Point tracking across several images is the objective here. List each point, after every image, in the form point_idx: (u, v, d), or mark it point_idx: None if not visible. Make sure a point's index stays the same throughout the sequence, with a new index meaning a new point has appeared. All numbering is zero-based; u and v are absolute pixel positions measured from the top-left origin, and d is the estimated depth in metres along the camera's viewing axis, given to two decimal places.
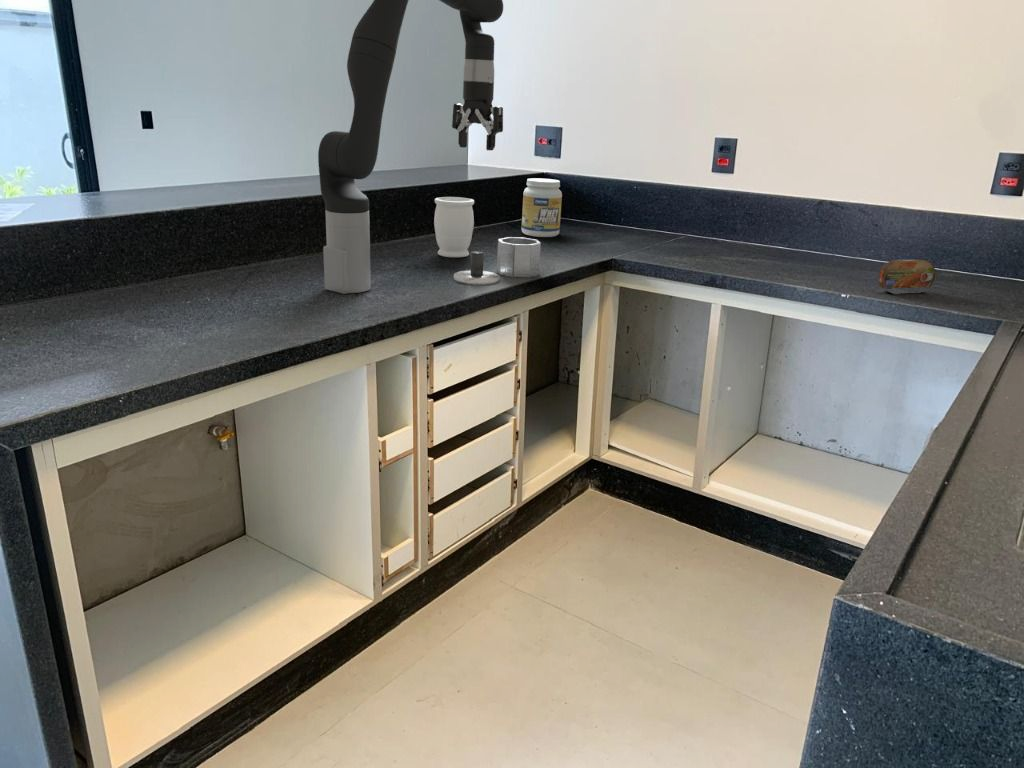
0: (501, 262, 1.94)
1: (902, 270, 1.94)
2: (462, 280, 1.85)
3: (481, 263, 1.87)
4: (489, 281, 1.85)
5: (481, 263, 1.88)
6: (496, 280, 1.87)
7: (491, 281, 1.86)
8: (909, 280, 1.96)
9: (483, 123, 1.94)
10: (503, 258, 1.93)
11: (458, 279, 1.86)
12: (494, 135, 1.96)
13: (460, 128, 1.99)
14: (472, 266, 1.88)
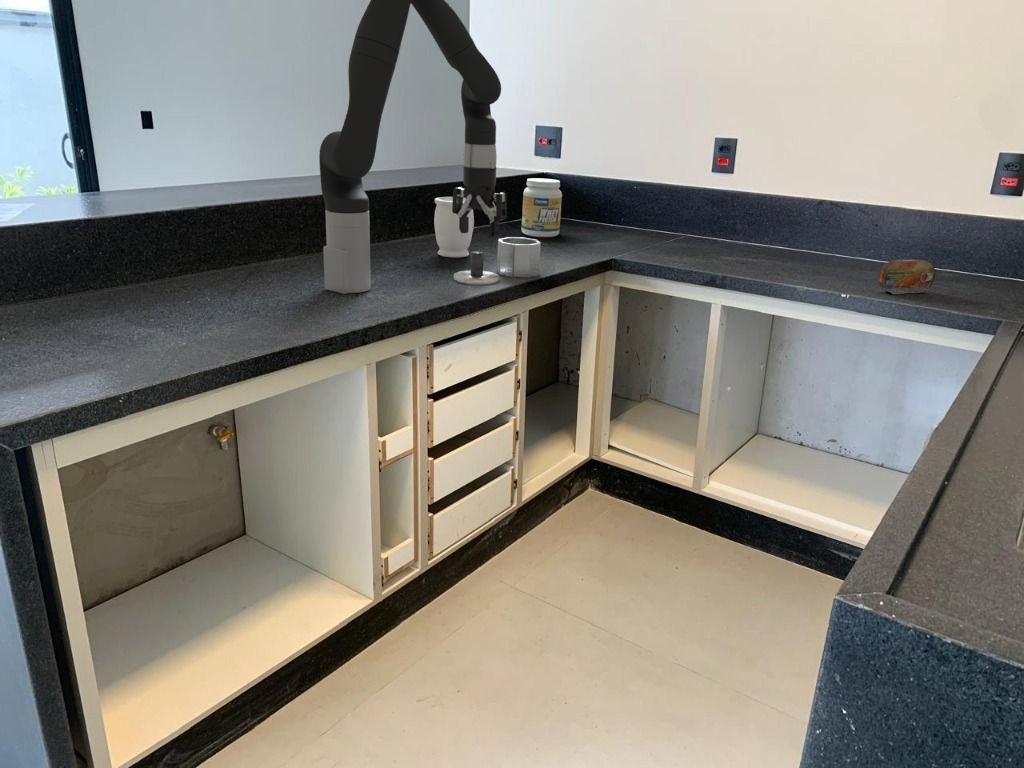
0: (501, 262, 1.94)
1: (902, 270, 1.94)
2: (462, 280, 1.85)
3: (481, 263, 1.87)
4: (489, 281, 1.85)
5: (481, 263, 1.88)
6: (496, 280, 1.87)
7: (491, 281, 1.86)
8: (909, 280, 1.96)
9: (485, 210, 1.81)
10: (503, 258, 1.93)
11: (458, 279, 1.86)
12: (497, 222, 1.82)
13: (461, 214, 1.86)
14: (472, 266, 1.88)
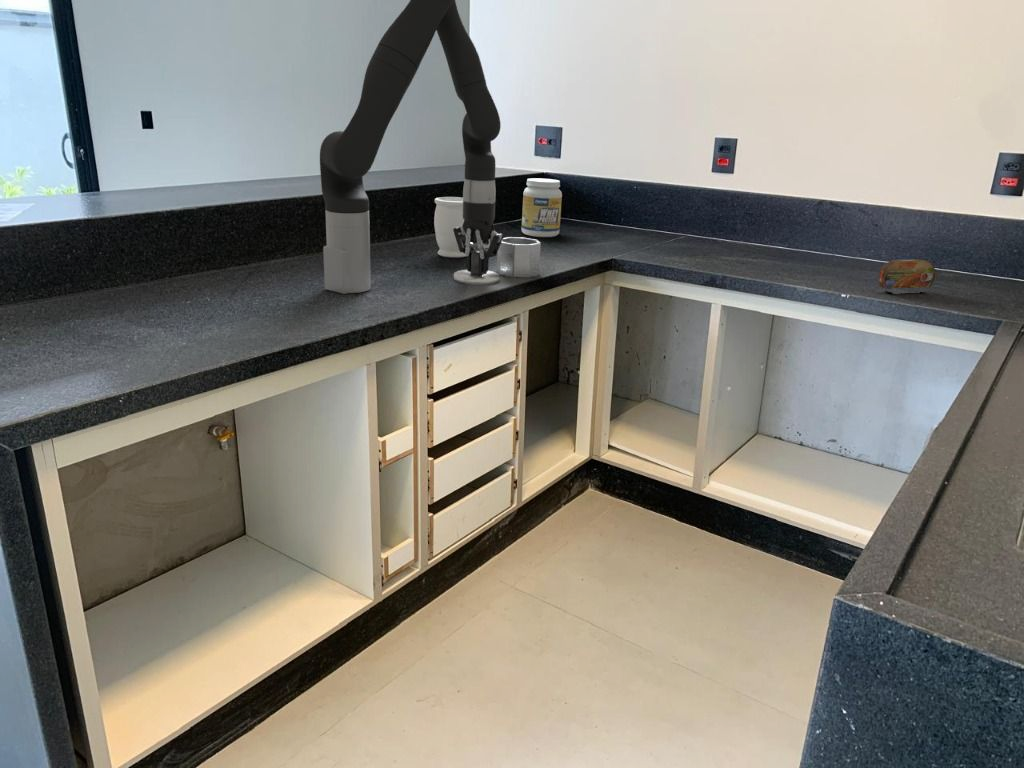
0: (501, 262, 1.94)
1: (902, 270, 1.94)
2: (462, 279, 1.85)
3: None
4: (489, 280, 1.85)
5: None
6: (496, 279, 1.87)
7: (491, 280, 1.86)
8: (909, 280, 1.96)
9: (479, 246, 1.85)
10: (503, 258, 1.93)
11: (458, 279, 1.86)
12: (487, 259, 1.87)
13: (467, 252, 1.88)
14: (472, 265, 1.88)
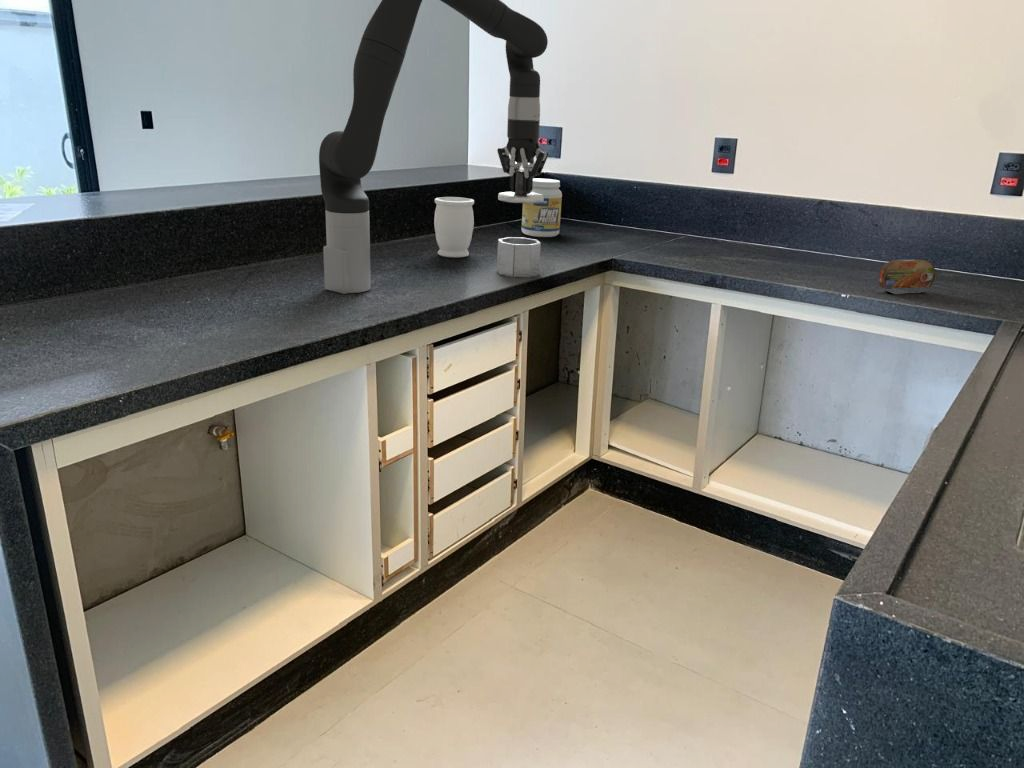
0: (501, 262, 1.94)
1: (902, 270, 1.94)
2: (507, 198, 1.87)
3: None
4: (534, 198, 1.87)
5: None
6: (541, 198, 1.89)
7: (536, 199, 1.88)
8: (909, 280, 1.96)
9: (523, 164, 1.86)
10: (503, 258, 1.93)
11: (503, 198, 1.88)
12: (531, 178, 1.88)
13: (512, 172, 1.89)
14: (517, 185, 1.89)
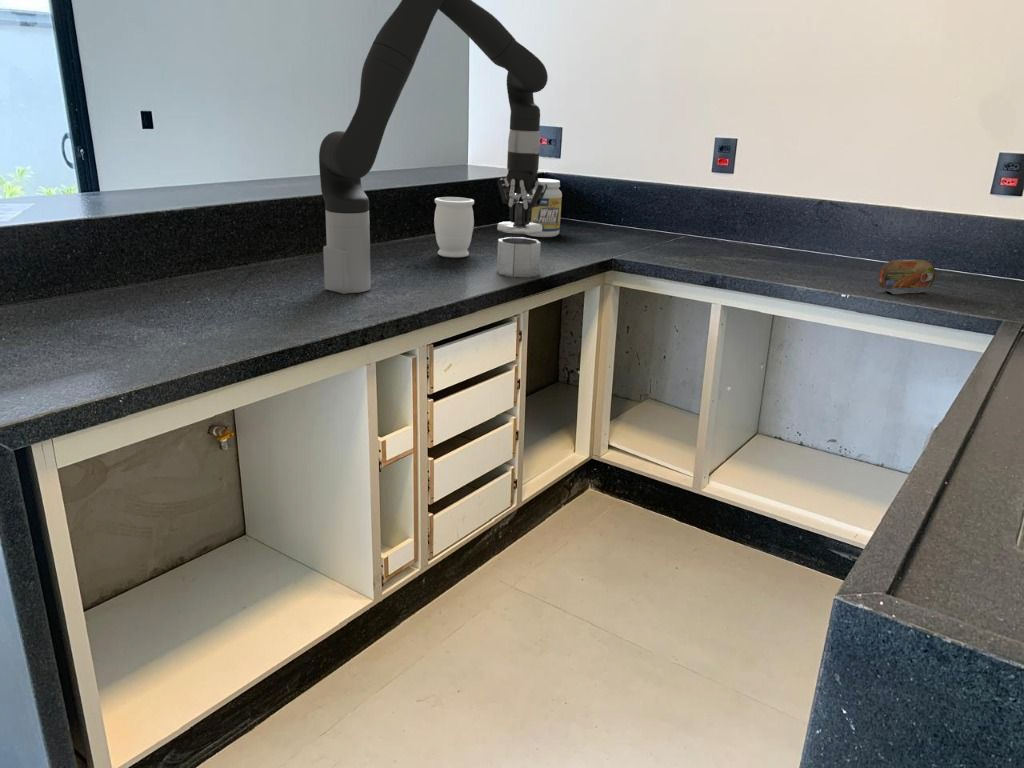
0: (501, 262, 1.94)
1: (902, 270, 1.94)
2: (507, 228, 1.90)
3: None
4: (533, 229, 1.90)
5: None
6: (539, 229, 1.92)
7: (535, 230, 1.90)
8: (909, 280, 1.96)
9: (523, 196, 1.89)
10: (503, 258, 1.93)
11: (502, 228, 1.91)
12: (530, 209, 1.91)
13: (511, 203, 1.92)
14: (516, 215, 1.92)
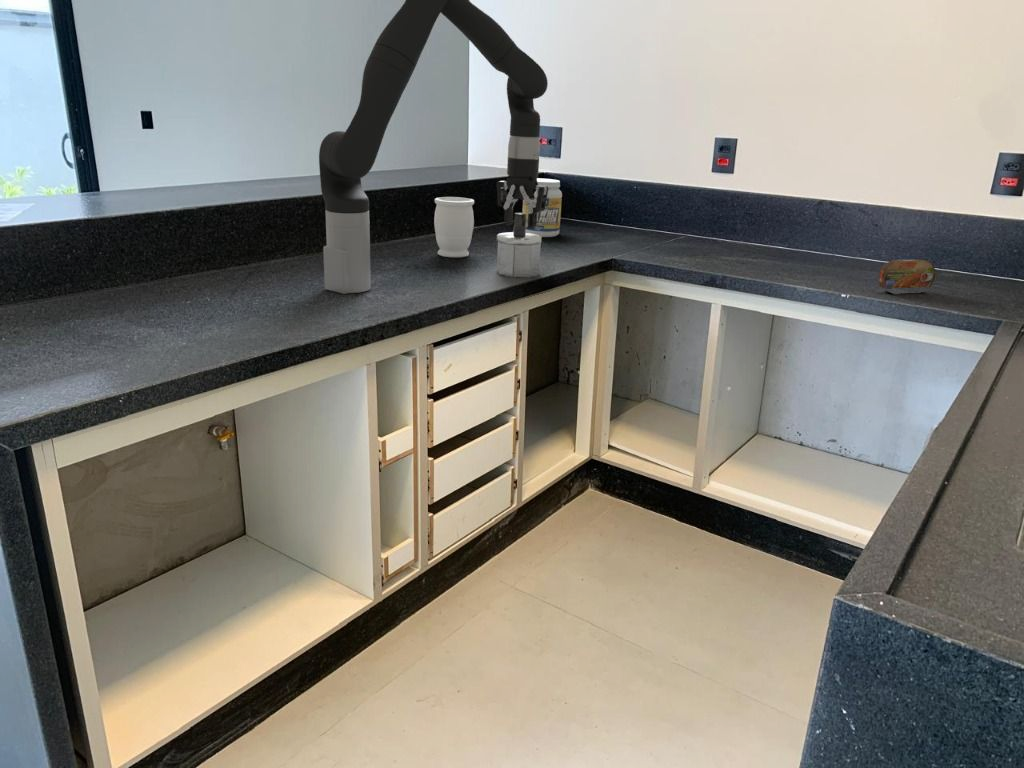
0: (501, 262, 1.94)
1: (902, 270, 1.94)
2: (506, 240, 1.91)
3: (524, 224, 1.93)
4: (532, 241, 1.91)
5: (524, 224, 1.93)
6: (539, 240, 1.93)
7: (534, 241, 1.91)
8: (909, 280, 1.96)
9: (526, 201, 1.89)
10: (503, 258, 1.93)
11: (501, 239, 1.92)
12: (536, 214, 1.91)
13: (506, 206, 1.93)
14: (515, 227, 1.93)
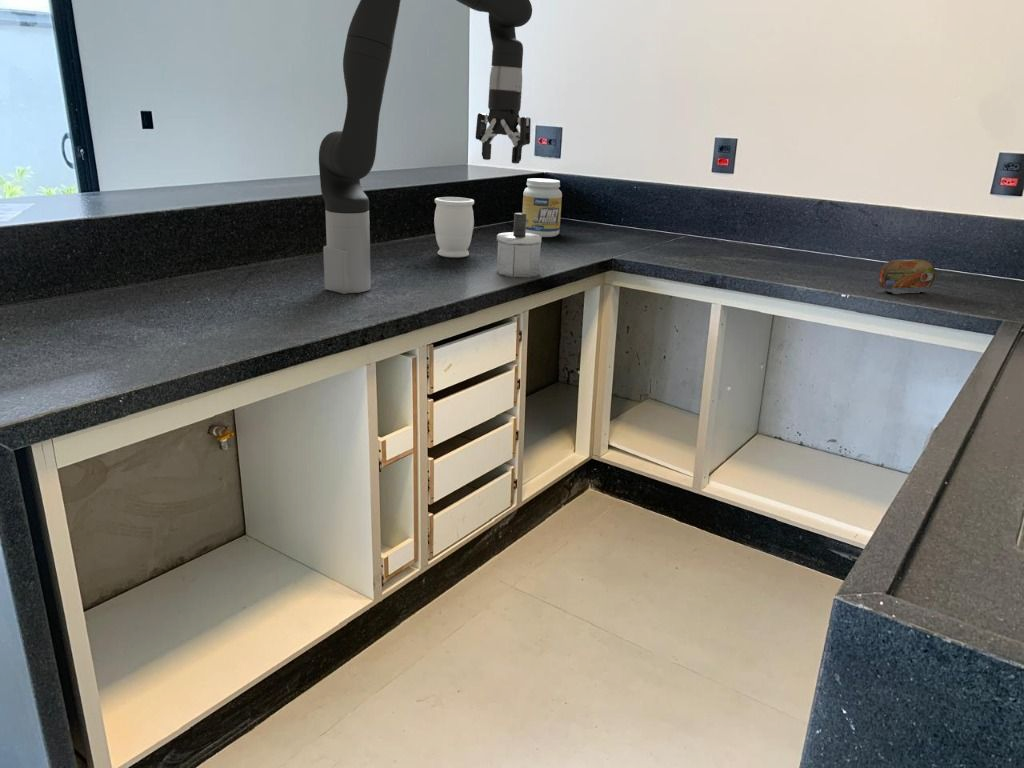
0: (501, 262, 1.94)
1: (902, 270, 1.94)
2: (506, 240, 1.91)
3: (524, 224, 1.93)
4: (532, 241, 1.91)
5: (524, 224, 1.93)
6: (539, 240, 1.93)
7: (534, 241, 1.91)
8: (909, 280, 1.96)
9: (509, 134, 1.82)
10: (503, 258, 1.93)
11: (501, 239, 1.92)
12: (520, 147, 1.83)
13: (484, 139, 1.87)
14: (515, 227, 1.93)
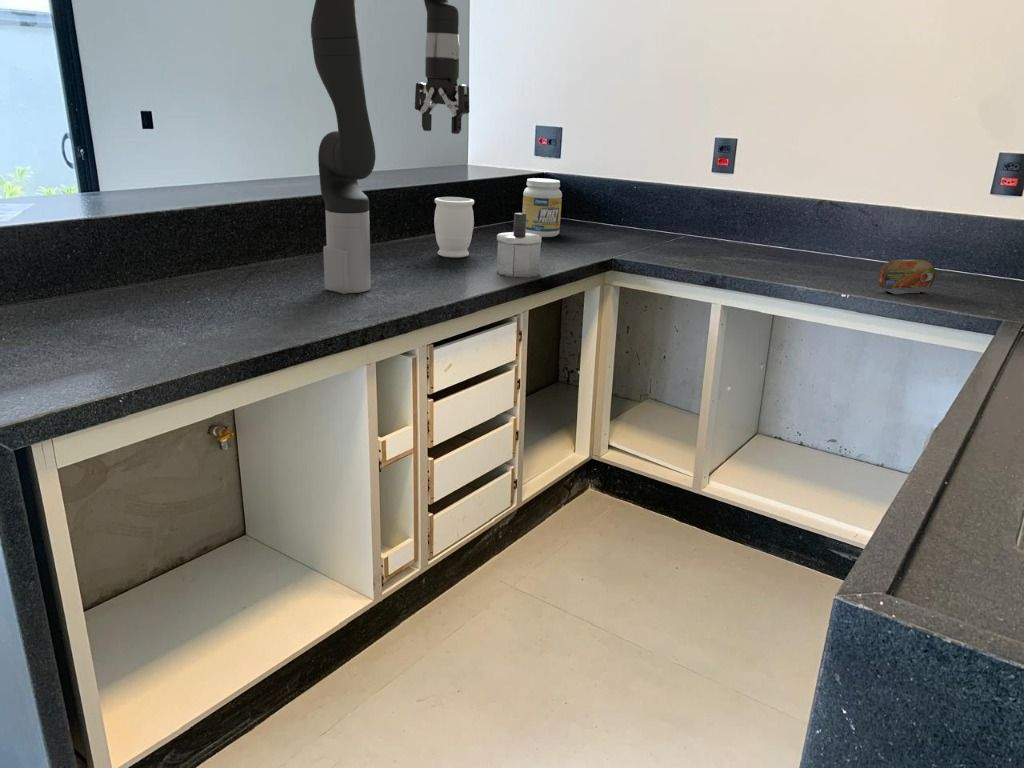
0: (501, 262, 1.94)
1: (902, 270, 1.94)
2: (506, 240, 1.91)
3: (524, 224, 1.93)
4: (532, 241, 1.91)
5: (524, 224, 1.93)
6: (539, 240, 1.93)
7: (534, 241, 1.91)
8: (909, 280, 1.96)
9: (447, 103, 1.77)
10: (503, 258, 1.93)
11: (501, 239, 1.92)
12: (460, 117, 1.78)
13: (423, 109, 1.82)
14: (515, 227, 1.93)
